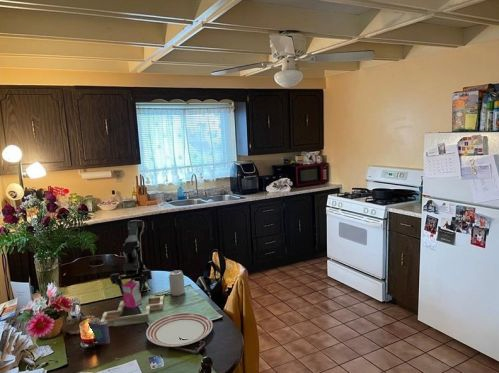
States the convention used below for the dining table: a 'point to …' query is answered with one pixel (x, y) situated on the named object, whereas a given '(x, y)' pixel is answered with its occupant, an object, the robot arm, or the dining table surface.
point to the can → (176, 283)
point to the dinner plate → (179, 329)
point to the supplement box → (131, 294)
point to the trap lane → (117, 320)
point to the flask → (100, 331)
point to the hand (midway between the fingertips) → (131, 293)
